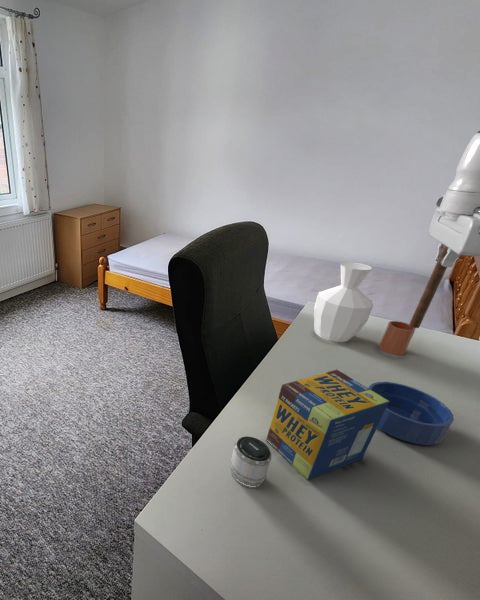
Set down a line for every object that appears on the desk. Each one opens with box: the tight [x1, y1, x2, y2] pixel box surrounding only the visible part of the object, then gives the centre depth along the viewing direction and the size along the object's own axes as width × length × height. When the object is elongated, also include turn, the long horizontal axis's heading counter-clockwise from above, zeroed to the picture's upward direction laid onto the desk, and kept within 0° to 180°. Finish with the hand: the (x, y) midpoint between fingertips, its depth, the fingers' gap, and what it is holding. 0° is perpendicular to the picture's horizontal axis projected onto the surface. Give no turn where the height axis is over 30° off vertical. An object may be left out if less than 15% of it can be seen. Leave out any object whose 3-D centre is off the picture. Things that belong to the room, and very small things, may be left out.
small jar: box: [230, 436, 272, 489], centre depth 65 cm, size 6×6×8 cm
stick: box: [408, 246, 448, 329], centre depth 83 cm, size 2×2×22 cm
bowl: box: [367, 381, 455, 446], centre depth 77 cm, size 14×14×6 cm
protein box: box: [265, 369, 390, 480], centre depth 68 cm, size 10×15×16 cm
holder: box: [378, 320, 417, 356], centre depth 102 cm, size 6×6×9 cm
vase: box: [313, 261, 374, 343], centre depth 107 cm, size 14×14×25 cm
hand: (442, 264), depth 81 cm, fingers closed on stick, 2 cm apart
